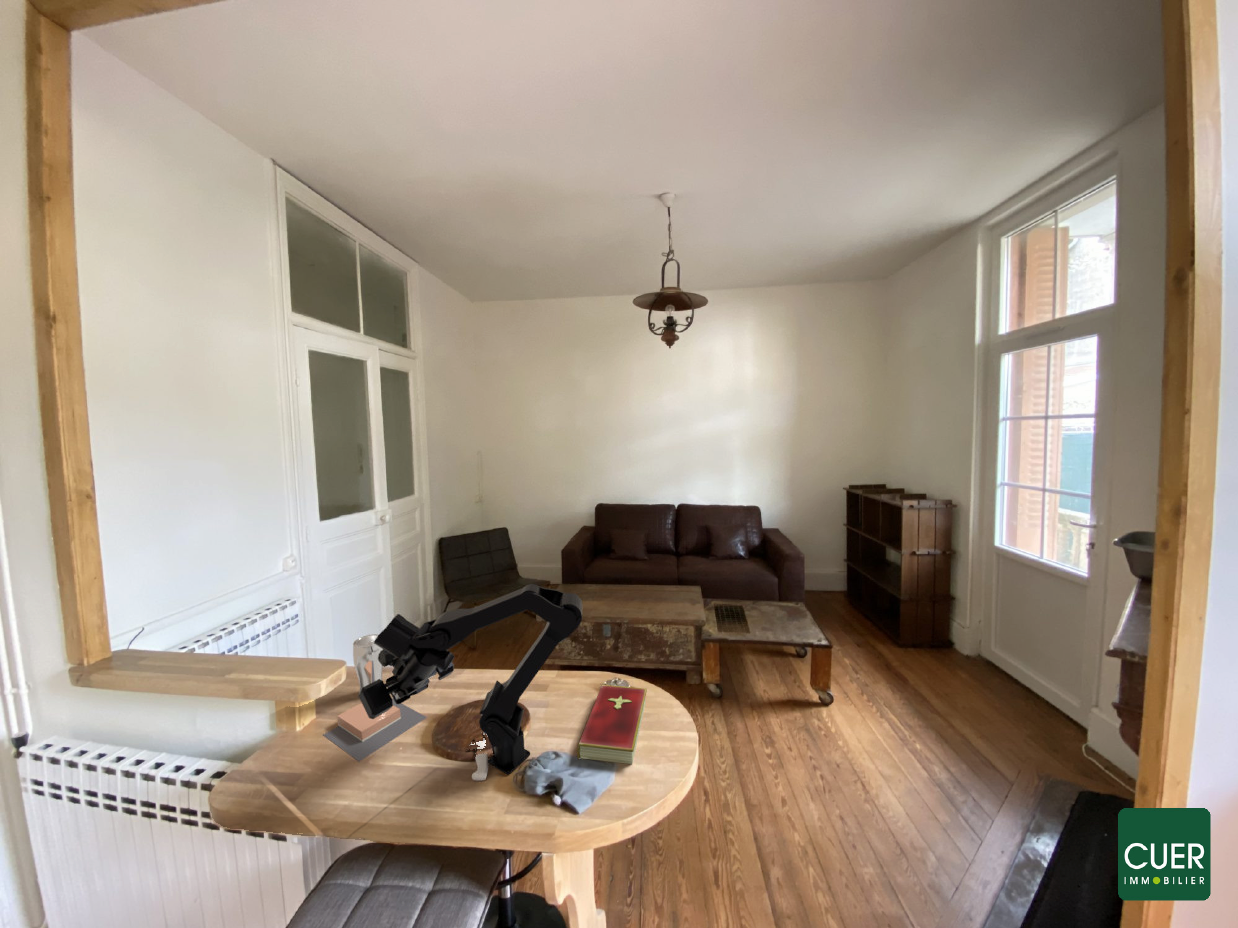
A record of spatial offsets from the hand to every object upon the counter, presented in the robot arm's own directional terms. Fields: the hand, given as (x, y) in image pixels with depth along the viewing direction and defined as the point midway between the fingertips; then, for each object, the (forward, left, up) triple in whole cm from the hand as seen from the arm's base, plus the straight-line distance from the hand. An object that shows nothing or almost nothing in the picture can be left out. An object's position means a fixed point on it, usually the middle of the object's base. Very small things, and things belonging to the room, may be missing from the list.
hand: (397, 697), depth 97 cm
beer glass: (+25, -7, -11) cm, 28 cm away
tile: (+7, 0, -9) cm, 11 cm away
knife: (-12, -10, -11) cm, 19 cm away
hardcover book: (-40, -28, -11) cm, 50 cm away
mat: (+10, 0, -11) cm, 14 cm away
